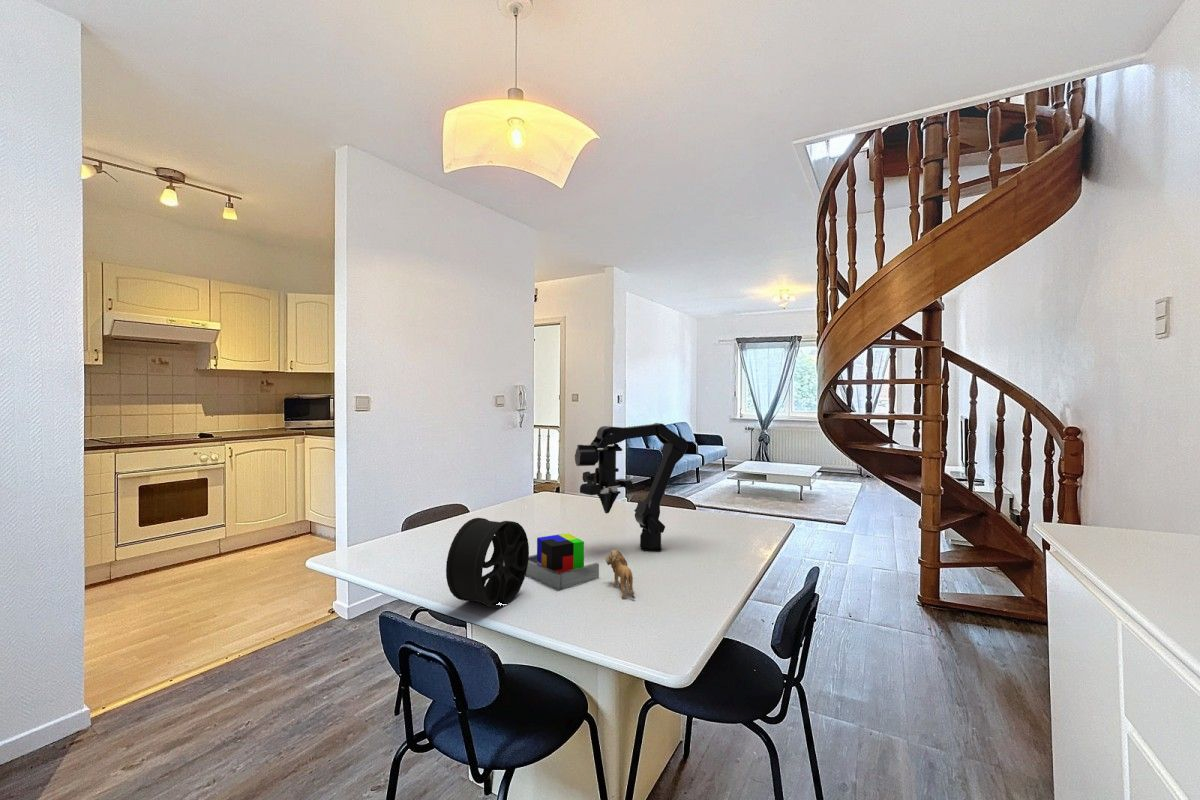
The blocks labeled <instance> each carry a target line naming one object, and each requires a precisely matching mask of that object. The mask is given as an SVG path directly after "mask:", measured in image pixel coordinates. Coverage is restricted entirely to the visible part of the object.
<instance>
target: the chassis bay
mask: <svg viewBox="0 0 1200 800" xmlns="http://www.w3.org/2000/svg"><path fill="white" fill-rule="evenodd" d="M525 577H528V578H531V579H533V580H535V581H536V582H540V583H541V584H544V586H545V585H546V586H547V587H550V588H551V587H552V589H553V590H556V591H558V590H559V591H561V590H565V589H567V588H571V587H575V586H578V585H581V584H584V583H587V582H590V581H594V580H597V579H599V578H600V564H599V563H598V562H593V563H590V564H586V565H584V566H582V567H579V568H575V569H572V570H568V571H565V572H561V573H558V572H555V571H553V570H551V569H548V568H546V567H544V566H541V565H539V564H537V553H536V554H532V555H529V560H528V567H527V571H526V575H525Z"/></svg>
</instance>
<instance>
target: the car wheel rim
mask: <svg viewBox="0 0 1200 800" xmlns="http://www.w3.org/2000/svg"><path fill="white" fill-rule="evenodd" d="M491 543H492V547H493V552H492V554H491V557H490V559H489V560H487V561H486V557H487V553H488V550H489V547H490V546H491ZM529 556H530V544H529V539H528V536H527V532H526V530H525V529H524V527H523V526H522V525H521V524H520V523H519V522H517V521H511V520H502V521H496V520H489V519H487V518H484V517H483V518H482V517H474V518H471V519H469V520H467V521H466V522H465V523H464V524H463V525H462V526H461V527H460V528H459V530H458V531H457V533H456V534H455V536H454V538H453V540H452V542H451V544H450V547H449V549H448V553H447V559H446V566H445V577H446V583H447V586H448V589H449V591H450V593H451V594H452V595H453V597H454V598H456V599H458V600H460V601H463V602H468V601H469V602H470V601H474V602H479V603H483V605H485V606H487V607H491V608H497V609H500V608H504V607H503V605H501V606H500V605H496V604H498V603H499V602H500V603H502V604H507V605H509V604H510V603H511V602H512V601H513V600H514V599H515V598H516V597H517V595H518V594H519V592H520V590H521V588H522V586H523V583H524V581H525V577H526V571H527V567H528V560H529ZM491 567H492V570H491V571H489V572H487V573H486V574H484V575H483V569H488V568H491ZM509 602H510V603H509ZM508 603H509V604H508Z"/></svg>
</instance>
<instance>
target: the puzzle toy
mask: <svg viewBox="0 0 1200 800" xmlns="http://www.w3.org/2000/svg"><path fill="white" fill-rule="evenodd" d="M536 539H537V540H536V554H537V564H539V565H541V566H544V567H546V568H548V569H551V570H553V571H555V572H558V573H561V572H565V571H568V570H572V569H575V568H579V567H582V566H585V541H584V540H582V539H580V538H578V537H576V536H574V535H572V534H570V533H569V532H568V533H561V534H553V535H547V536H546V535H545V536H539V537H537V538H536Z"/></svg>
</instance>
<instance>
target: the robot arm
mask: <svg viewBox="0 0 1200 800" xmlns="http://www.w3.org/2000/svg"><path fill="white" fill-rule="evenodd" d="M653 436H654V437H656V438H657V439H658V441H659V442H661V444H663V445H662V450H661V451H662V458H661V459H662V460H661V462H660V465H659V466H658V469H657V472H656V474H655V477H654V479H653V482H652V484H651V486H650V489H649V491H648V494H647V495H646V497H645V499H644V500H640V499H639V500H638V501H637V504H636V505H637V506H636V507H635V509H634V510H633V511H634V512H635V513H634V518H635V522H637V523H638V524H639V525H638V526H639V528H641V529H642V530H641V533H640V535H639V537H640V539H639V542H640V543H639V546H640V550H641V551H650V552H651V551H653V552H661V551H662V547H663V546H662V534H663V533H664V532H665V529H666V526H665V524H664V523H663V522H662V521H660V514H661V501H662V499H663V496H664V494H665V491H666V488H667V486H668V484H669V482H670V479H671V477H672V474H673V472H674V469H675V467H676V465H677V463H678V462H680V460H681V459H682V458H683V457H684V455H685V453H686V452H687V450H688V446H689V443H688V442H687V440H686V438H684V437H682V436H680V435H678V434H677V433H676V432H674V431H673V430H671V429H670V428H668V427H667V426H666V425H665V424H664V423H658V422H655V423H651V424H650V423H649V424H643V425H634V426H627V427H626V426H625V427H619V426H609V425H608V426H607V425H603V426H600V427H599V428H598V429H597V431H596V435H595V437H594V439H593V440H592V441H591V443H589V444H577V447H576V450H575V454H574V462H575V464H576V467H588V466H589V467H590V466H592V467H593V466H595V465H597V464H598V467H595V469H594V472H592V473H591V472H590V471H584V472H582V482H584V483H582V484H581V485H580V487H579V493H580V494H584V495H589V496H595V495H597V496H598V498H599V500H600V503H601V505H602V508H603V512H604V514H610V512H611V510H612V507H613V505H614V503H615V502H616V499H617V497H618V496H619V495H620V494H621V491H620V490H619V489H618V488H624V489H625V490H632V489H633V488H634V487H633V485H634V483H633V481H632V480H631V479H626V478H617V473H618V472H620V469H619V468H618V467H617V452H622V451H623V448H622V447H621V446H620V445H619V443H622V442H623V441H626V440H630V439H637V438H645V437H653ZM633 490H634V489H633Z"/></svg>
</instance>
